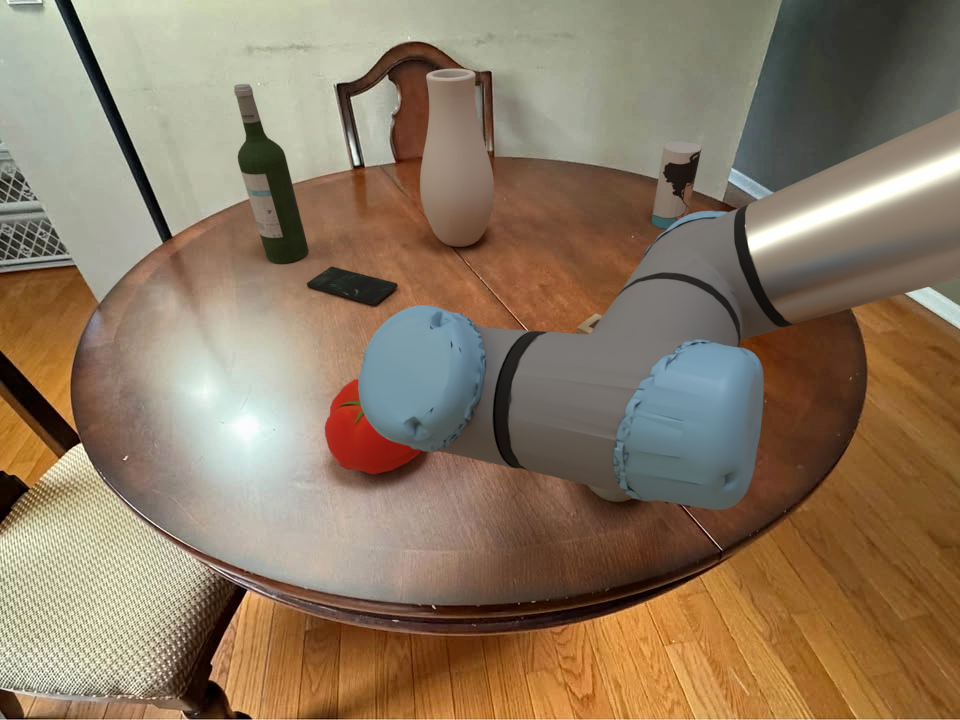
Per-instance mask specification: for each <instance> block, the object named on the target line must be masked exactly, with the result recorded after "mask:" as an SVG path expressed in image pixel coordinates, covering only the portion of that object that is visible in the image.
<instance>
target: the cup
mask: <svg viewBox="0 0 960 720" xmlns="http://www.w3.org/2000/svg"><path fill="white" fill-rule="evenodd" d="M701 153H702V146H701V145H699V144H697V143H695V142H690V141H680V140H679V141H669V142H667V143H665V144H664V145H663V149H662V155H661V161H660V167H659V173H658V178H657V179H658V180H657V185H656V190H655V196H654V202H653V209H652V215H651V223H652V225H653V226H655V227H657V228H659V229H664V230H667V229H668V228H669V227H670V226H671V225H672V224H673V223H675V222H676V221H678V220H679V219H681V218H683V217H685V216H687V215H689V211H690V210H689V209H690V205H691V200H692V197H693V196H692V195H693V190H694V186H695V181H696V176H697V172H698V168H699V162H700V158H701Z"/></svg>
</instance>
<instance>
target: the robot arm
mask: <svg viewBox="0 0 960 720" xmlns="http://www.w3.org/2000/svg"><path fill="white" fill-rule="evenodd" d="M958 279H960V108H959V109H957V110H954V111H952V112H950V113H948V114H946V115H944V116H941V117H939V118H937V119H935V120H932V121H930V122H928V123H926V124H923V125H921V126H919V127H917V128H914V129H913V130H910V131H907V132H906V133H904V134H900V135H898V136H897V137H894V138H892V139H890V140H888V141H885V142H883V143H881V144H879V145H877V146H875V147H872V148H870V149H868V150H866V151H864V152H861V153H859V154H857V155H855V156H852V157H850V158H847V159H846V160H844V161H841V162H839V163H837V164H835V165H832V166H830V167H828V168H826V169H823V170H821V171H819V172H817V173H815V174H813V175H810V176H808V177H806V178H804V179H802V180H799V181H797V182H795V183H792V184H790V185H788V186H786V187H784V188H782V189H779V190H777V191H775V192H772V193H771V194H768V195H766V196H764V197H761V198H759V199H757V200H755V201H753V202H750V203H748V204H746V205H744V206H741V207H738V208H736V209H733V210H731V211H721V210H702V211H695V212H692V213H688V215H687V216H685V217H683V218H681V219H679V220H678V221H676V222H675V223H673V224H672V225H671V226H670V227H669V228H668V229H665V231H663V232H662V233H660V234H659V235H658V236H657V237H656V239H654V241H653V242H652V243H651V244H650V245H649V246H648V247H647V248H646V250H645V251H644V253H643V256H642V257H641V260H640V262H639V263H638V265H637V267H636V268H635V269H634V271H633V273H632V274H631V276H630V277H629V278H628V280H627V281H626V283H624V285H623V286H622V288H621V290H620V291H619V292H618V294H617V295H616V297H615V298H614V300H613V301H612V303H611V304H610V305H609V307H608V308H607V309H606V311H605V313H604V314H603V315H601V316H602V318H601V319H600V321H599V322H598V323H597V325H596V326H595V327H594V329H593V330H592V332H591V333H590V334H579V333H577V332H561V331H543V330H527V329H518V328H517V329H513V328H503V327H489V326H484V325H481V324H476V323H474V321H473V320H472V319H471V318H469V317H466V314H463V313H460V312H452V311H450V310H447V309H444V308H441V307H438V306H435V305H425V304H424V305H423V304H422V305H413V306H411V307H407V308H404V309H401V310H400V311H398V312H396V313H394V314H393V315H392V316H390V317H389V318H387V320H385V321H384V322H383V323H382V324H381V325H380V326H379V327H378V328H377V330H376V331H375V332H374V334H373V336H372V337H371V338H370V340H369V342H368V344H367V345H366V348H365V350H364V353H363V360H362V363H361V364H360V372H359V374H358V379H359V383H358V391H359V399H360V403H361V407H362V410H363V412H364V414H365V416H366V418H367V420H368V422H369V423H370V424H371V425H372V427H373V428H374V429H375V430H376V431H377V432H378V433H379V434H380V435H382V436H383V437H385V438H386V439H388V440H390V441H393V442H396V443H400V444H404V445H408V446H410V447H411V448H413V449H415V450H419V449H420V450H421V452H425V453H436V452H439V453H444V454H450V455H454V456H458V457H459V456H460V457H464V458H467V459H473V460H476V461H481V462H483V463H485V464H486V465H492V464H493V465H498V466H502V467H507V468H511V469H520V470H521V469H522V470H525V471H529V472H533V473H536V474H541V475H546V476H550V477H553V478H557V479H561V480H566V481H570V482H574V483H577V484H582V485H584V486H585V485H586V486H588V485H589V486H594V487H598V488H602V489H606V490H610V491H614V492H618V493H622V494H626V495H629V496H630V497H631V498H632V500H633V499H634V500H635V499H636V500H638V501H642V502H647V503H651V502H655V501H659V502H664V503H665V504H667V505H668V504H669V503H670V504H677V505H681V506H682V507H684V508H688V509H689V508H691V507H693V508H698V509H699V508H700V509H704V510H705V509H706V510H711V511H723V510H727V509H730V508H733V507H734V506H737V504H739V503H740V502H741V500H742V499H743V498H744V497H745V495H746V494H747V493H748V490H749V487H750V485H751V483H752V479H753V477H754V476H753V475H754V471H755V468H756V467H755V466H756V461H757V454H758V452H757V451H758V447H759V443H760V438H761V432H762V431H761V430H762V421H763V412H764V396H765V395H764V393H765V392H764V391H765V382H764V370H763V365H762V363H761V360H760V359H759V357H758V356H757V355H756V354H755V353H754V352H753V351H751V350H750V349H747V348H745V347H740V346H741V344H742V341H744V340H747V339H750V338H753V337H758V336H761V335H764V334H768V333H771V332H775V331H777V330H780V329H784V328H788V327H791V326H793V325H797V324H800V323H804V322H807V321H811V320H813V319H817V318H818V319H819V318H822V317H825V316H830V315H831V314H832V315H833V314H835V313H840V312H843V311H846V310H850V309H854V308H857V307H861V306H864V305H869V304H872V303H875V302H876V303H877V302H880V301H883V300H886V299H890V298H894V297H897V296H900V295H904V294H909V293H911V292H915V291H919V290H922V289H925V288H929V287H933V286H937V285H940V284H944V283H947V282H951V281H955V280H958Z"/></svg>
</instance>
